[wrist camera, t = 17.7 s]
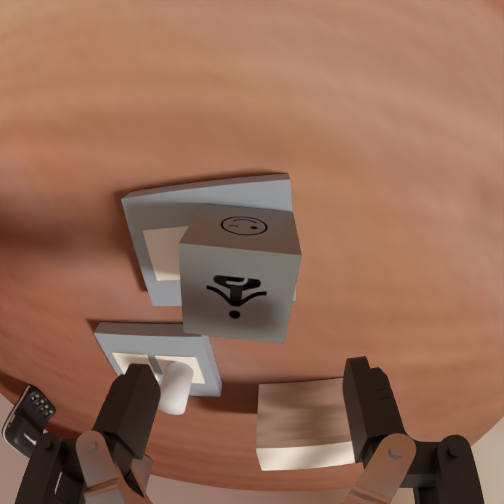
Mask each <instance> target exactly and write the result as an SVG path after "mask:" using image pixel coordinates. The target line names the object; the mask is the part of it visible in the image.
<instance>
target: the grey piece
mask: <svg viewBox="0 0 504 504" xmlns="http://www.w3.org/2000/svg"><path fill="white" fill-rule="evenodd" d="M94 335H95V336H96V338H97V340H98V342H99V344H100V346H101V348H102V349H103V351H104V353H105V355H106V356H107V358H108V360H109V362H110V363H111V365H112V367H113V368H114V370H115V372H116V373H117V375H118V376H119V375H120V374H125V373H126V371H127V368H128V366H129V365H130V364H131V363H138V364H148V365H149V366H150V368H151V370H152V372H153V374H154V376H155V378H156V380H157V382H158V384H159V386H160V389H161V397H160V401H159V405H158V408H159V409H160V410H162V411H164V412H166V413H169V414H174V415H179V414H182V413H184V411H185V407H186V403H187V399H188V395H193V396H217V397H221V390H222V381H221V378H220V375H219V371H218V368H217V365H216V361H215V358H214V354H213V351H212V347H211V344H210V340H209V337H208V336H206V335H198V334H191V333H184V328H183V324H143V323H112V322H100V323H99V325H98V327H97V328H96V330H95V331H94Z"/></svg>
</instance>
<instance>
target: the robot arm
mask: <svg viewBox="0 0 504 504" xmlns="http://www.w3.org/2000/svg"><path fill="white" fill-rule="evenodd" d="M342 390H343V398H344V403H345V408H346V413H347V418H348V424H349V429H350V435H351V441H352V447H353V453H354V459H355V463H359V462H363V467H364V471H363V473H362V474H361V476H360V477H359V479H358V481H357V482H356V484H355V485H354V487H353V488H352V490H351V491H350V492H349V494H348V495H347V497H346V498H345V500H344V501H343V502H342V504H390V503H391V501H392V499H393V497H394V496H395V494H396V492H397V490H398V488H400V487H401V488H413V492H414V499H415V504H484V499H483V494H482V490H481V485H480V481H479V477H478V473H477V469H476V465H475V461H474V457H473V454H472V451H471V447H470V444H469V442H468V441H467V440H466V439H465V438H464V437H462V436H460V435H450V436H448V437H446V438H444V439H443V440H442V441H441V442H420V441H416V440H414V439H412V438H411V437H410V436H408V434H407V433H406V432H405V430H404V427H403V424H402V420H401V417H400V414H399V411H398V407H397V404H396V401H395V398H394V395H393V392H392V389H391V386H390V383H389V380H388V377H387V375H386V374H385V373H384V372H383V371H382V370H381V369H380V368H379V367H377V368H371V369H370V367H369V363H368V360H367V358H366V357H365V356H363V357H355V358H348V359H347V360H346V365H345V371H344V377H343V383H342ZM160 397H161V389H160V386H159V384H158V382H157V380H156V378H155V376H154V374H153V372H152V370H151V368H150V366H149V365H148V364H138V363H131V364H130V365H129V366H128V368H127V371H126V373H125V374H120V375H119V376H118V377H117V378H116V380H115V381H114V382H113V383H112V385H111V388H110V390H109V394H107V397H106V399H105V400H106V401H104V403H103V406H102V408H101V410H100V413H99V415H98V417H97V420H96V422H95V424H94V427H93V429H92V430H91V431H87V432H85V433H83V434H81V435H80V436H79V438H78V439H60V438H59V437H58V436H57V435H56V434H55V433H52V432H48V433H44V434H42V435H41V436H40V437H39V438H38V440H37V442H36V445H35V447H34V450H33V452H32V455H31V457H30V460H29V463H28V465H27V468H26V471H25V474H24V476H23V479H22V482H21V486H20V488H19V491H18V495H17V498H16V501H15V504H152V502H151V501H150V500H149V498H148V496H147V494H146V488H147V484H148V480H149V476H150V473H151V469H152V465H153V461H152V460H151V459H150V458H149V457H147V456H146V455H144V452H145V448H146V445H147V441H148V438H149V435H150V431H151V428H152V424H153V421H154V418H155V414H156V411H157V408H158V405H159V401H160ZM60 472H61V473H62V475H61V478H60V481H59V484H58V488H57V491H56V494H55V488H56V485H57V481H58V478H59V475H60Z"/></svg>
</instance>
